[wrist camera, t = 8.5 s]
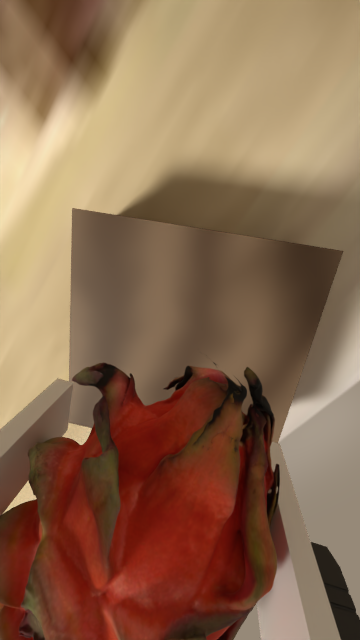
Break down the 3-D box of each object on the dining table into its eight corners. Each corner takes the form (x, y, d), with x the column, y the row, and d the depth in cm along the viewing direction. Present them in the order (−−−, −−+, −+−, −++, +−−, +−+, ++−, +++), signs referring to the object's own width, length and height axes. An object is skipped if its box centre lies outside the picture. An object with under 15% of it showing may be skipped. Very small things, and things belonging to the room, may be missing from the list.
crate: (99, 382, 31) (68, 422, 24) (109, 215, 25) (72, 208, 18) (257, 415, 29) (269, 467, 23) (307, 247, 24) (343, 251, 17)
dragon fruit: (95, 472, 16) (220, 321, 14) (180, 643, 12) (380, 461, 10) (-98, 542, 9) (100, 254, 7) (-66, 1058, 4) (518, 688, 2)
